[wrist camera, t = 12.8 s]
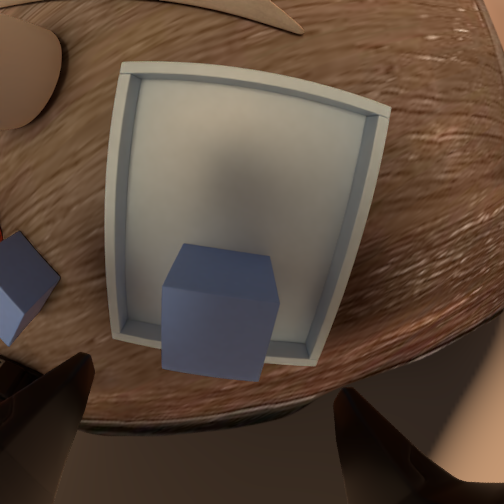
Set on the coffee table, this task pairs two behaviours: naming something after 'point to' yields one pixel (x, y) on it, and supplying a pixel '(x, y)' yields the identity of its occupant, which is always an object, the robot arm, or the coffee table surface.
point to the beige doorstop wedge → (230, 11)
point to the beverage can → (26, 70)
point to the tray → (237, 190)
